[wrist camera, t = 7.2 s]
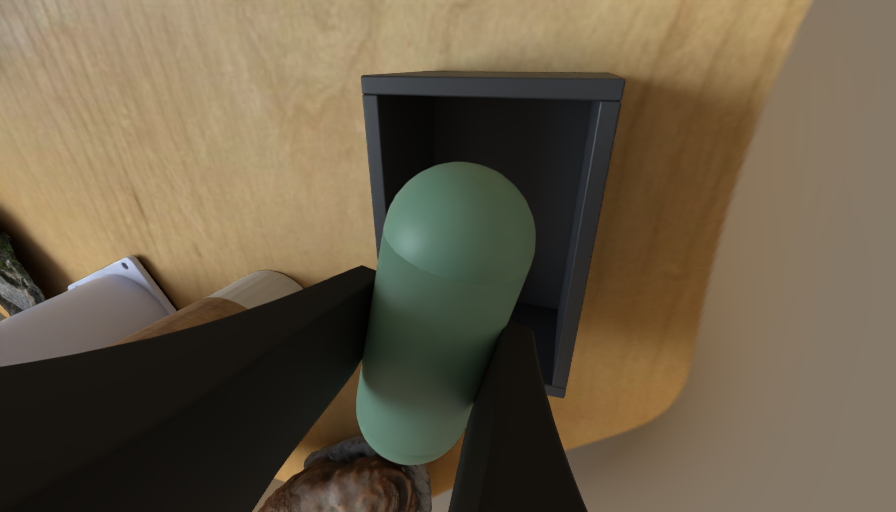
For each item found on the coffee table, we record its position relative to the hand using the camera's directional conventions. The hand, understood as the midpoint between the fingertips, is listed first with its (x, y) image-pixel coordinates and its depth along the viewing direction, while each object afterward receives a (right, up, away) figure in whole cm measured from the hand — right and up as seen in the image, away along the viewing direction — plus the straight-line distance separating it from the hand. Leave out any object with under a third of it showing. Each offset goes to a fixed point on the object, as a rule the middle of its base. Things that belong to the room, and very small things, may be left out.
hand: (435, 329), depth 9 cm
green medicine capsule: (0, +1, +1) cm, 1 cm away
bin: (+3, +4, +8) cm, 9 cm away
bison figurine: (-4, -13, +19) cm, 23 cm away
